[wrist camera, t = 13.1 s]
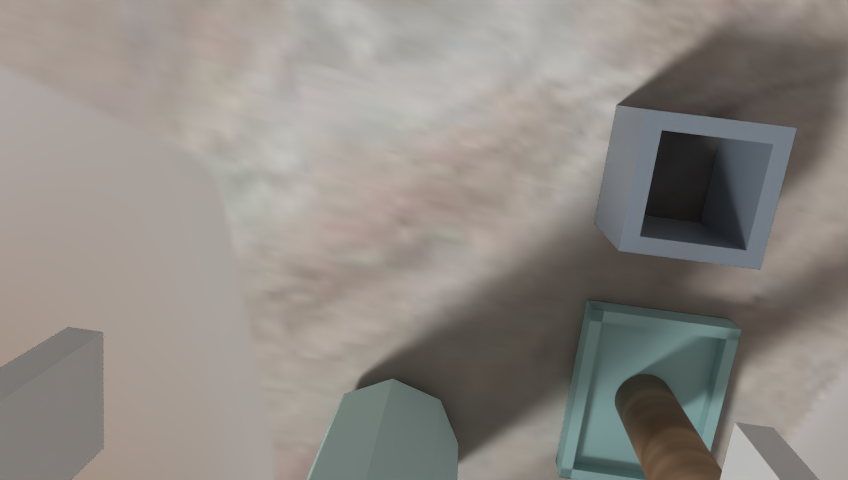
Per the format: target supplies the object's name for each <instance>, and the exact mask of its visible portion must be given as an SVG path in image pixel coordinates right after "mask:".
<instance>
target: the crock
mask: <svg viewBox="0 0 848 480" xmlns="http://www.w3.org/2000/svg"><path fill="white" fill-rule="evenodd" d="M662 130H664V131H672V132H680V133H688V134H696V135H704V136H712V137H720V140H719V144H718V149H717V153H716V157H715V162H714V166H713V170H712V175H711V179H710V183H709V188H708V192H707V196H706V201H705V205H704V209H703V214H702V218H701V222H700V223H699V222H691V221H683V220H676V219H668V218H660V217H653V216H645V215H644V214H645V209H646V204H647V199H648V194H649V190H650V185H651V180H652V175H653V170H654V166H655V161H656V156H657V151H658V146H659V142H660V137H661V132H662ZM796 130H797V128H794V127H786V126H779V125H771V124H764V123H756V122H748V121H741V120H733V119H725V118H717V117H709V116H700V115H692V114H684V113H676V112H668V111H660V110H652V109H644V108H636V107H628V106H620V105H617V106H616V111H615V116H614V122H613V127H612V132H611V138H610V143H609V148H608V153H607V159H606V164H605V169H604V174H603V180H602V185H601V190H600V196H599V201H598V206H597V211H596V217H595V222H594V224H595V225H596V226H597V227H598V228H599V229H600V230H601V232H602V233H603V234H604V235H605V236H606V237H607V238H608V239H609V241H610V242H611V243H612V244H613V245H614V246H615V247H616V249H617V250H618V251H623V252H630V253H638V254H645V255H653V256H660V257H668V258H675V259H683V260H690V261H698V262H705V263H713V264H720V265H728V266H735V267H743V268H750V269H758V270H760V269H761V265H762V261H763V257H764V253H765V249H766V246H767V242H768V238H769V234H770V230H771V226H772V222H773V219H774V215H775V211H776V207H777V203H778V199H779V195H780V192H781V188H782V184H783V180H784V176H785V172H786V168H787V165H788V161H789V157H790V153H791V149H792V145H793V141H794V138H795V134H796Z"/></svg>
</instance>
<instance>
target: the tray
mask: <svg viewBox="0 0 848 480" xmlns="http://www.w3.org/2000/svg"><path fill="white" fill-rule="evenodd" d="M741 331H742V330H741V329H740V328H739V327H738V326H737V325H736V324H735V323H733V322H732V321H731V320H730V319H724V318H717V317H709V316H702V315H695V314H687V313H680V312H673V311H665V310H658V309H651V308H643V307H636V306H629V305H621V304H614V303H607V302H599V301H592V300H587V302H586V308H585V313H584V318H583V323H582V328H581V334H580V339H579V344H578V349H577V354H576V360H575V365H574V370H573V375H572V380H571V386H570V391H569V396H568V401H567V406H566V412H565V417H564V422H563V427H562V432H561V437H560V443H559V448H558V453H557V458H556V464H557V469H558V473H559V477H561V478H568V479H575V480H647V479H646V476H645V474H644V472H643V469H642V467H641V465H640V462H639V460H638V458H637V456H636V453H635V451H634V449H633V446H632V444H631V442H630V440H629V437H628V435H627V433H626V430H625V428H624V426H623V423H622V421H621V419H620V417H619V414H618V412H617V410H616V407H615V395H616V392H617V390H618V388H619V387H620V386H621V384H622V383H623V382H624V381H626V380H627V379H629V378H631V377H633V376H637V375H642V374H647V375H653V376H656V377H658V378H660V379H662V380H663V381H664V382H665V383H666V384H667V385H668V386H669V388H670V390H671V391H672V393H673V394H674V396H675V397H676V399H677V401H678V402H679V404H680V405H681V407H682V408H683V410H684V412H685V413H686V415H687V416H688V418H689V420H690V421H691V423H692V424H693V426H694V427H695V429H696V431H697V432H698V434H699V435H700V437H701V438H702V440H703V442H704V443H705V445H706V446H707V448H708V450H709V451H711V447H712V443H713V439H714V435H715V431H716V428H717V424H718V420H719V416H720V412H721V408H722V404H723V400H724V397H725V393H726V389H727V385H728V381H729V377H730V373H731V369H732V366H733V362H734V358H735V354H736V350H737V346H738V342H739V339H740V335H741Z"/></svg>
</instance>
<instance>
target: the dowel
mask: <svg viewBox="0 0 848 480" xmlns="http://www.w3.org/2000/svg"><path fill="white" fill-rule="evenodd" d="M615 407H616V410H617V412H618V414H619V417H620V419H621V421H622V423H623V426H624V428H625V430H626V433H627V435H628V437H629V440H630V442H631V444H632V446H633V449H634V451H635V453H636V456H637V458H638V460H639V462H640V465H641V467H642V469H643V472H644V474H645V476H646V479H647V480H720V477H721V473H722V470H721V469H720V467H719V465H718V464H717V462H716V461H715V459H714V457H713V456H712V454H711V453H710V451H709V450H708V448H707V446H706V445H705V443H704V442H703V440H702V438H701V437H700V435H699V434H698V432H697V431H696V429H695V427H694V426H693V424H692V423H691V421H690V420H689V418H688V416H687V415H686V413H685V412H684V410H683V408H682V407H681V405H680V404H679V402H678V401H677V399H676V397H675V396H674V394H673V393H672V391H671V390H670V388H669V386H668V385H667V384H666V383H665V382H664V381H663V380H662V379H660V378H658V377H656V376H653V375H647V374H642V375H637V376H633V377H631V378H629V379H627V380H626V381H624V382H623V383H622V384H621V386H620V387H619V388H618V390H617V392H616V395H615Z"/></svg>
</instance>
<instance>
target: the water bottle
mask: <svg viewBox="0 0 848 480" xmlns="http://www.w3.org/2000/svg"><path fill="white" fill-rule="evenodd" d="M457 473H458V443H457V440H456V438H455V435H454V433H453V430H452V428H451V425H450V423H449V420H448V418H447V415H446V413H445V410H444V408H443V405H442V403H441V400H439V399H437V398H435V397H433V396H430V395H428V394H426V393H424V392H421V391H419V390H417V389H415V388H413V387H410V386H408V385H406V384H404V383H401V382H399V381H397V380H395V379H389V380H386V381H383V382H380V383H377V384H374V385H371V386H367V387H364V388H361V389H358V390H355V391H352V392H349V393H346V394H344V395H343V398H342V400H341V402H340V404H339V406H338V408H337V411H336V413H335V415H334V417H333V419H332V421H331V423H330V426H329V428H328V430H327V432H326V434H325V436H324V439H323V441H322V444H321V446H320V448H319V451H318V453H317V456H316V458H315V460H314V463H313V465H312V468H311V470H310V472H309V475H308V477H307V480H457Z"/></svg>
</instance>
